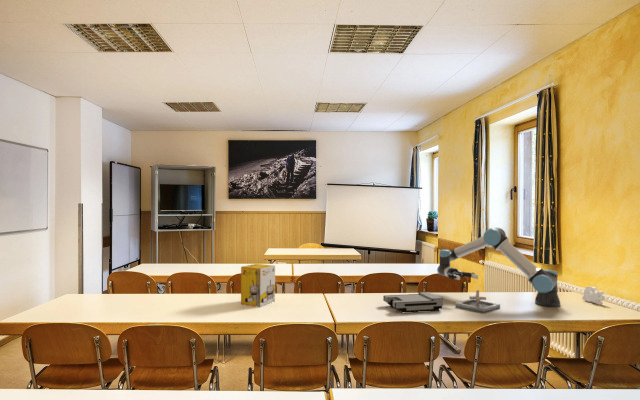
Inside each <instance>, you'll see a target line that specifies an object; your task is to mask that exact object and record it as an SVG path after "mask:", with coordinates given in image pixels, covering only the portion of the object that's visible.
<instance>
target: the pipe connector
mask: <svg viewBox="0 0 640 400" xmlns="http://www.w3.org/2000/svg"><path fill="white" fill-rule="evenodd" d="M469 299H476V306H479V301H480V300H481V301H486V300H487V297H486V296H480V290H478V289H476V291H475V295H474V296H472V295H471V296H470V295H469Z"/></svg>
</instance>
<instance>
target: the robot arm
mask: <svg viewBox="0 0 640 400" xmlns="http://www.w3.org/2000/svg"><path fill="white" fill-rule="evenodd" d="M488 246H489V247H490V246H491V247H492V248H493V249H494V250H495V251H498V252H501V253H502V255H504V257H506V258H507V259H508V260H509V261H510V262H511V263H512V264H513V265H514V266H516V268H517V269H519V270H520V271H521V272H522V273H523V274H524V275H525V276H526V278H527V281H528V282H529V283H530V284H531V285H532V287H533V289H534V290H535V291H536V292H537V294H536V296H535V299H534V303H535V305H539V306H543V307H550V308H552V307H553V308H554V307H555V308H556V307H560V306H561V300H560V298H559V295H558V272H557V270H548V269H543V268H541V267H537V266H536V265H535V264H534V263H533V262H531V261H530V260H529V259H528V258H527V257H526V256H525V255H524V254H523V253H522V252H521V251H519V249H518V248H516V247H515V246H514V245H513V244H512V243H511V242H510V239H509V237H507V234H506V232H505V230H503V229H502V228H501V227H491V228H488V229H486V230H485V231H484V233H483V236H480V237H478V238H476V239H474V240H471V241H469V242H466V243H465V244H463V245H460V246H458V247H456V248H452V249H451V250H449V249H440V250H439V252H438V253H439V255H438V256H439V265H438V267H437V269H436V272H437V273H438V275H441V276H442V277H447V278H448V279H451V280H457V281H460V280H461V278H464V277H465V278H471V279H476V280H479V275H478V274H476V273H475V272H467V271H466V272H465V271H459V270H458V269H457V268H454V267H453V266H452V267H451V262H452V261H455V260H457V259H460V258H462V257H465V256H467V255H469V254H471V253H474V252H476V251H479V250H481V249H483V248H487V247H488Z"/></svg>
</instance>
